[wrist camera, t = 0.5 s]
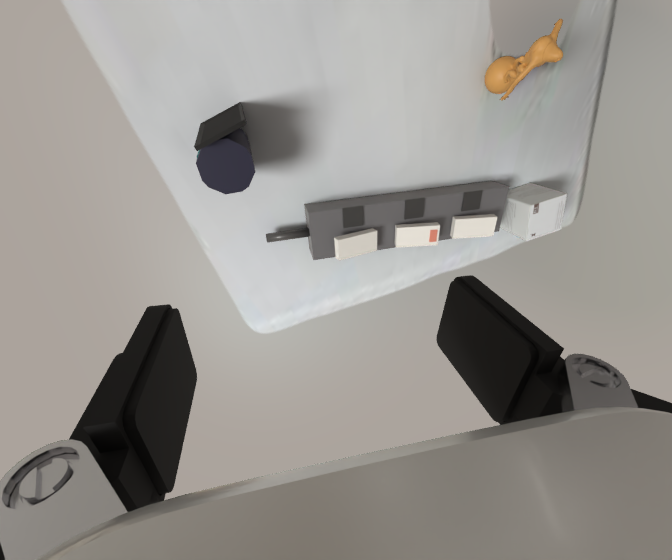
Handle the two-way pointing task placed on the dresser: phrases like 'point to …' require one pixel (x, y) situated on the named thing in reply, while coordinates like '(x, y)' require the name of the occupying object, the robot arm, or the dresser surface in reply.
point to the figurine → (510, 73)
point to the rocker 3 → (473, 226)
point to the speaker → (225, 152)
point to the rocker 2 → (417, 234)
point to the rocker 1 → (355, 244)
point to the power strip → (395, 214)
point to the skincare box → (533, 211)
